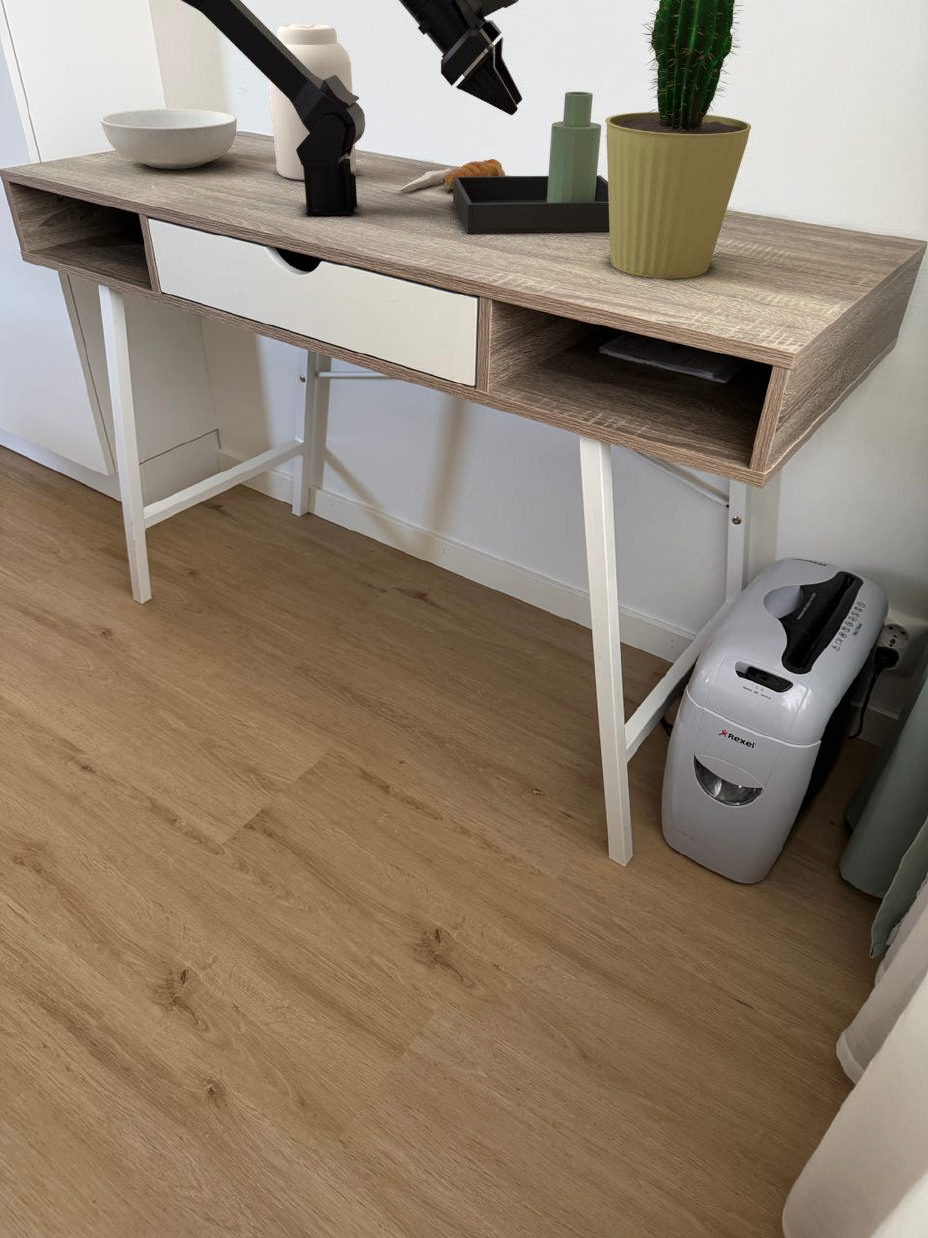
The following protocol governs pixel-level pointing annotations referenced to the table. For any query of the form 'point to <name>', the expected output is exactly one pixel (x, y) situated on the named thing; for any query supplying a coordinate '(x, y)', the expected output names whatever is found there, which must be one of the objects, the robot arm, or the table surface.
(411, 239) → the table surface
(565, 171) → the bottle
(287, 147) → the cream vase
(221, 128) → the serving bowl
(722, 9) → the potted cactus
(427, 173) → the parsnip
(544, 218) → the tray
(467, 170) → the pastry
